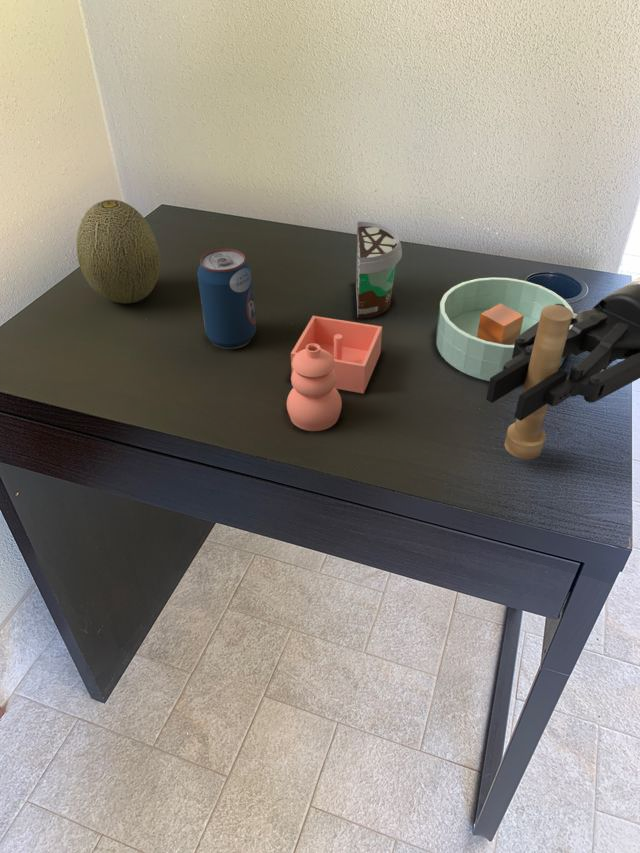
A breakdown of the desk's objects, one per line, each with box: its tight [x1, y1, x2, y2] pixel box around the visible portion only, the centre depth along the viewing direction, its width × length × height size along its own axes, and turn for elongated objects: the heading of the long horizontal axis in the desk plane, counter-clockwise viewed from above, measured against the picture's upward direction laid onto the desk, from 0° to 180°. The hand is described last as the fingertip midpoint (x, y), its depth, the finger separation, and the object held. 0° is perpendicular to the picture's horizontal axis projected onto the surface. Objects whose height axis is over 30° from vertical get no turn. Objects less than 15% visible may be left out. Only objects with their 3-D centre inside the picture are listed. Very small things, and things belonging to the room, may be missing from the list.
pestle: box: [504, 305, 573, 460], centre depth 69 cm, size 4×4×17 cm
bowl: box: [435, 276, 575, 382], centre depth 91 cm, size 17×17×6 cm
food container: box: [355, 220, 403, 319], centre depth 98 cm, size 12×6×10 cm, turn 179°
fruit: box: [76, 199, 161, 304], centre depth 98 cm, size 11×11×15 cm
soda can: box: [196, 248, 257, 350], centre depth 91 cm, size 7×7×12 cm
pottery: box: [286, 315, 383, 432], centre depth 83 cm, size 18×10×10 cm, turn 163°
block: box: [477, 304, 524, 345], centre depth 92 cm, size 4×4×4 cm
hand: (505, 399), depth 66 cm, fingers closed on pestle, 3 cm apart
